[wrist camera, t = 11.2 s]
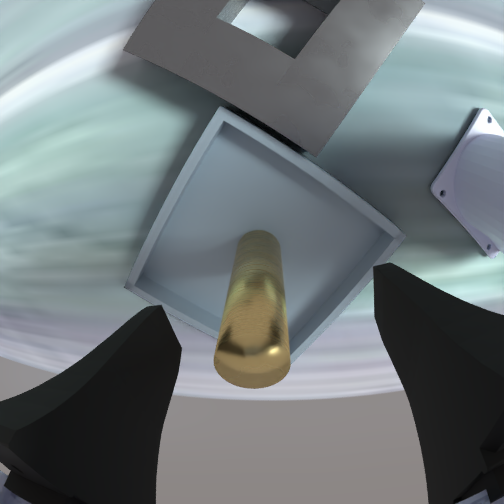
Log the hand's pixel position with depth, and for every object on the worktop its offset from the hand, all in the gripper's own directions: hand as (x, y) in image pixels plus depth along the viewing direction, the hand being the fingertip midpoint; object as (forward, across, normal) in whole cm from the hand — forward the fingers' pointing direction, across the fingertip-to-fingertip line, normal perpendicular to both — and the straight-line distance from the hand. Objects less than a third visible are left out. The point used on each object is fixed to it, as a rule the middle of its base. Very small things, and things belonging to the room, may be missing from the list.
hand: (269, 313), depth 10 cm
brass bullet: (+10, +1, +2) cm, 10 cm away
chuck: (+10, -3, -12) cm, 16 cm away
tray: (+10, +1, +2) cm, 11 cm away
